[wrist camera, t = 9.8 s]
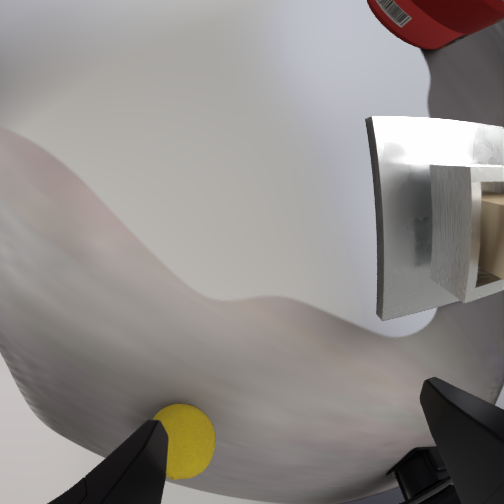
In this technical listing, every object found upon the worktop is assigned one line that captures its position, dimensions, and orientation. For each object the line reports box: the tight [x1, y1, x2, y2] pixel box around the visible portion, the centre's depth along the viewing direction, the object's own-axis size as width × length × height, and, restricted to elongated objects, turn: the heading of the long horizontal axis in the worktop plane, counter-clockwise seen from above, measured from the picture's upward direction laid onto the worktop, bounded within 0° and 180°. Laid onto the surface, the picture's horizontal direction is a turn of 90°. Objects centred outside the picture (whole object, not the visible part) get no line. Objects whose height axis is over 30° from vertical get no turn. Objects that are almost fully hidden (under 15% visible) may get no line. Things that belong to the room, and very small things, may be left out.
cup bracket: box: [365, 116, 504, 321], centre depth 15 cm, size 14×14×6 cm
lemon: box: [153, 404, 216, 480], centre depth 19 cm, size 6×6×8 cm
